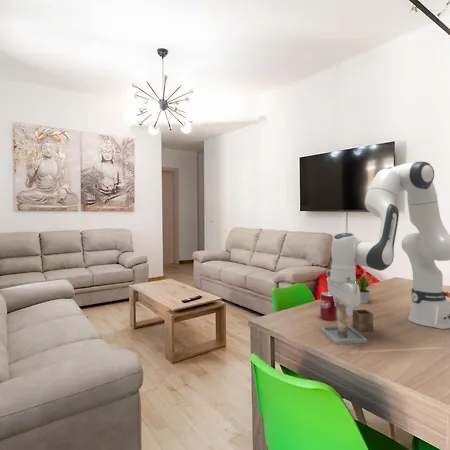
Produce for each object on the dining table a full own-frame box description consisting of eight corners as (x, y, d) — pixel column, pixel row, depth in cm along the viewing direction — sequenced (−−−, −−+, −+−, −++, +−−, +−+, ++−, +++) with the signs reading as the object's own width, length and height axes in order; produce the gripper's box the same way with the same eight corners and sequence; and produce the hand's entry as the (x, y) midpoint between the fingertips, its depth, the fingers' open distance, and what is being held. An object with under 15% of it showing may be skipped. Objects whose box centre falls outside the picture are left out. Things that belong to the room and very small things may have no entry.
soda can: (326, 323, 140) (326, 296, 139) (317, 318, 147) (317, 292, 146) (340, 321, 142) (340, 295, 141) (330, 316, 149) (331, 291, 148)
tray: (348, 330, 132) (348, 325, 132) (366, 344, 118) (367, 339, 118) (320, 331, 131) (320, 326, 131) (335, 346, 117) (335, 340, 117)
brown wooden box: (365, 326, 136) (365, 309, 135) (373, 332, 130) (373, 313, 129) (352, 327, 135) (352, 310, 135) (359, 332, 129) (359, 314, 129)
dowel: (344, 333, 126) (345, 303, 126) (349, 337, 123) (349, 306, 122) (336, 334, 126) (336, 304, 125) (340, 337, 122) (340, 306, 122)
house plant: (384, 306, 163) (384, 275, 162) (356, 306, 163) (357, 275, 162) (372, 299, 177) (372, 269, 176) (346, 299, 178) (347, 269, 177)
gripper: (365, 281, 113) (364, 319, 114) (339, 270, 133) (339, 302, 134) (348, 281, 113) (347, 320, 113) (324, 270, 133) (324, 303, 134)
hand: (342, 310), depth 124 cm, fingers open, 8 cm apart
